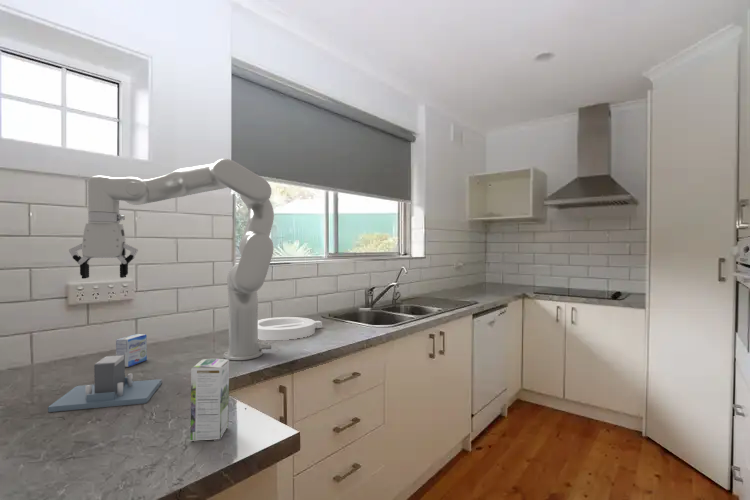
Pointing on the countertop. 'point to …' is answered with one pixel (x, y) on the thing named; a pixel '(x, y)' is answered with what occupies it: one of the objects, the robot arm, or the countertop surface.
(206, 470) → the countertop surface
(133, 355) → the medicine box
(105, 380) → the block
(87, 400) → the blue fixture board
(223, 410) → the syrup box
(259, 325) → the ring with crossbar
